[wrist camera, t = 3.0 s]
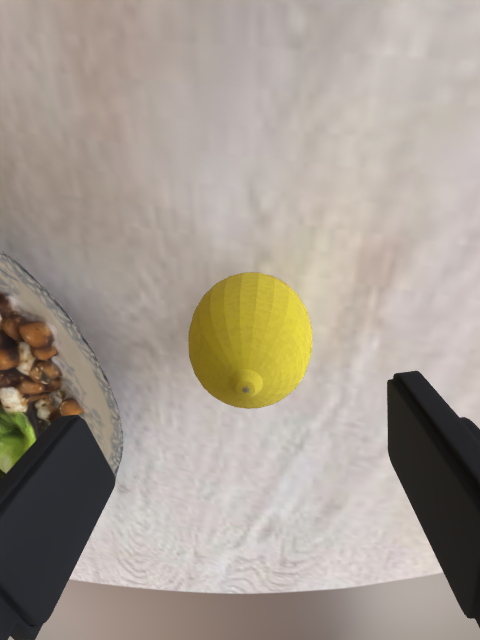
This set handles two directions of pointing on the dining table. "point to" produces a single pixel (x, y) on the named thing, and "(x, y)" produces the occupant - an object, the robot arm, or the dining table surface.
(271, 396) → the lemon
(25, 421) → the plate of food
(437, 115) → the dining table surface
